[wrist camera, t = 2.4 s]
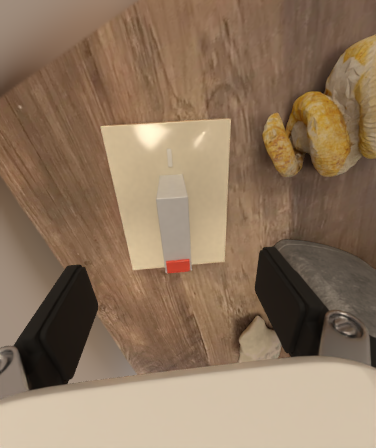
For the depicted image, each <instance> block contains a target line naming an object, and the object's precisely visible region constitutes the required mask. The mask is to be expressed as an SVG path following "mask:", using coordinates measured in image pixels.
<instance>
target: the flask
mask: <svg viewBox="0 0 376 448" xmlns="http://www.w3.org/2000/svg"><path fill="white" fill-rule="evenodd" d="M274 247H276V248H277V250H278V251H279V252H280V253H281V254H282V256H283V257H284V258H285V259H286V261H287V262H288V263H289V264H290V265H291V267H292V268H293V269H294V270H296V271H297V272H298V273H299V275H300V276H301V277H302V278H303V279H304V281H305V282H306V283H307V284H308V285H309V287H310V288H311V289H312V290H313V291H314V293H315V294H316V295H317V296H318V297H319V299H320V300H321V301H322V302H323V303H324V305H325V306H326V307H327V308H328V309H329V311H330V310H341V311H345V312H348V313H350V314H352V315H354V316H355V317H357V318H358V319H360V320H361V321H362V322H363V323H364V324H365V326H366V327H367V329H368V332H369V335H371V336H373V337H375V338H376V270H375V269H373V268H372V267H371V266H369V265H368V264H367V263H365V262H364V261H363V260H361V259H360V258H358V257H356V256H354V255H352V254H350V253H348V252H345V251H343V250H340V249H337V248H334V247H331V246H327V245H323V244H319V243H314V242H308V241H300V240H281V241H279V242H278V243H276V244H275V246H274Z"/></svg>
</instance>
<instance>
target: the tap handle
mask: <svg viewBox="0 0 376 448" xmlns="http://www.w3.org/2000/svg"><path fill="white" fill-rule="evenodd" d="M156 203H157V211H158V219H159V226H160V234H161V241H162V249H163V257H164V264H165V272H166V273H176V272H187V271H192V262H191V243H190V223H189V204H188V194H187V190H186V186H185V181H184V177H183V174H177V175H163V176H160V177H159V183H158V190H157V196H156Z"/></svg>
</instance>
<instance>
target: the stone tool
mask: <svg viewBox="0 0 376 448" xmlns="http://www.w3.org/2000/svg"><path fill="white" fill-rule="evenodd" d="M239 343H240V349H239V352H240V355H239V360H238V362H237V363H241V362H250V361H258V360H267V359H277V358H278V356H279V355H280V351H281V346H282V345H281V343H280V341H279V339H278V337H277V335H276V333H275V331H274V330H271V329H268V328H267V327H266V326H265V321H264V320H263V319H262V318H261V317H260V316H256V317H255V318H254V320H253V321H252V323H251V324H250V325H249V326H248V327H247V328H246V329H245V330H244V331H243V332H242V334H241V336H240V338H239Z"/></svg>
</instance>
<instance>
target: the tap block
mask: <svg viewBox="0 0 376 448" xmlns="http://www.w3.org/2000/svg"><path fill="white" fill-rule="evenodd" d="M230 130H231V119H227V118H215V119H198V120H181V121H164V122H146V123H129V124H112V125H105V126H101V132H102V136H103V140H104V145H105V149H106V154H107V158H108V162H109V167H110V171H111V176H112V180H113V184H114V189H115V193H116V198H117V202H118V206H119V211H120V215H121V220H122V224H123V228H124V233H125V237H126V242H127V246H128V250H129V255H130V259H131V264H132V268H133V270H140V269H151V268H162V267H165V264H164V257H163V249H162V241H161V234H160V226H159V219H158V211H157V203H156V196H157V190H158V183H159V177H160V176H163V175H177V174H183V177H184V181H185V186H186V190H187V194H188V204H189V223H190V243H191V262H192V265H194V264H205V263H216V262H225V244H226V221H227V198H228V175H229V153H230Z"/></svg>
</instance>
